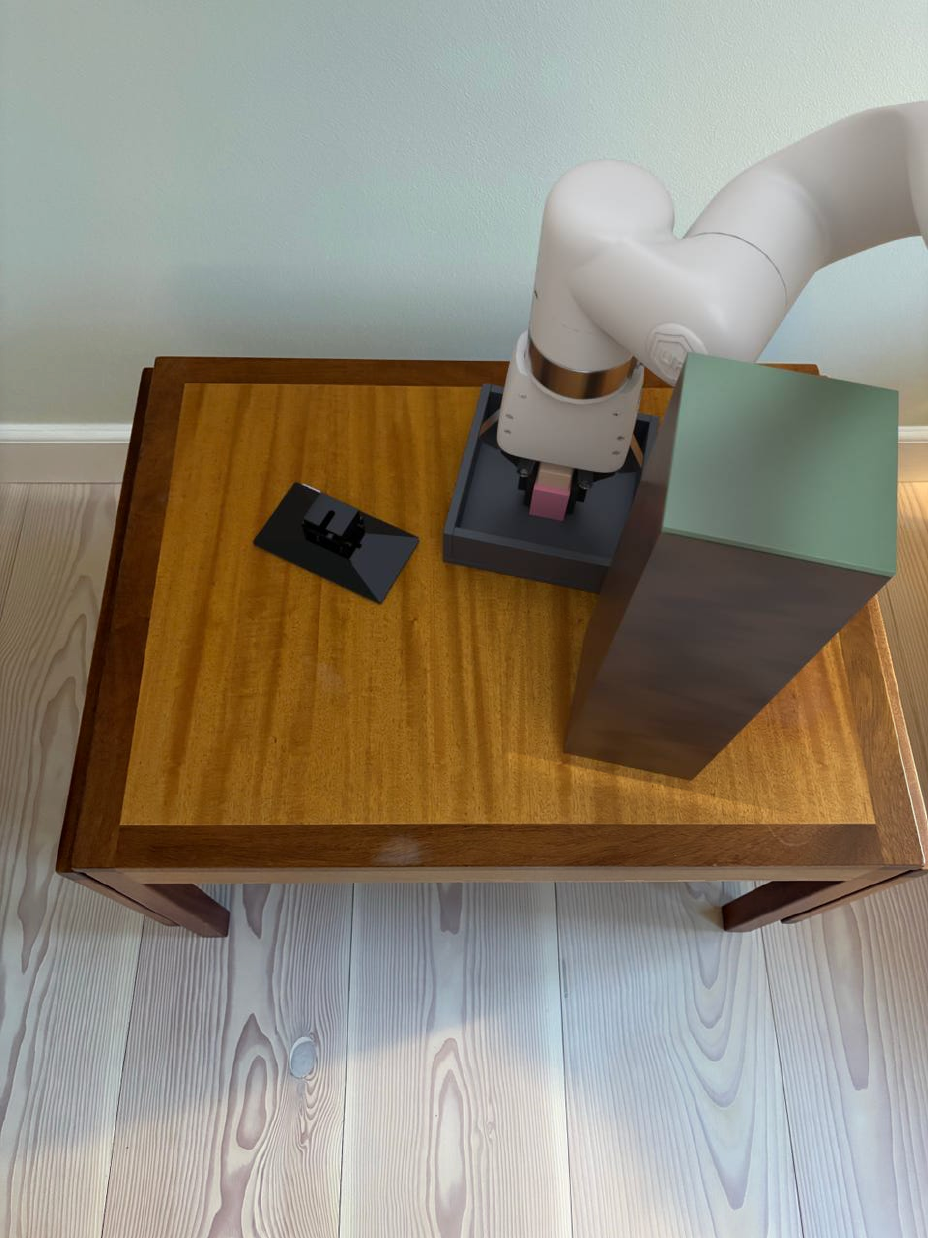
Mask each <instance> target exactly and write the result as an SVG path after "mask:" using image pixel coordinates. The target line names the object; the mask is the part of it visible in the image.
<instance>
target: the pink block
mask: <svg viewBox="0 0 928 1238" xmlns="http://www.w3.org/2000/svg"><path fill="white" fill-rule="evenodd" d="M573 473H574V468H573V467H567V466H562V465H557V464H552V463H547V462H542V461H540V464H539V468H538V473H537V477H536V482H535V484H534V489H533V494H532V500H531V506H530V512H529V514H530V515H535V516H540V517H545V518H550V519H555V520H560V521H563V520H564V516H565V512H566V508H567V504H568V500H569V495H570V488H571V483H572V478H573Z"/></svg>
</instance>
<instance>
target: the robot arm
mask: <svg viewBox="0 0 928 1238" xmlns="http://www.w3.org/2000/svg"><path fill="white" fill-rule="evenodd" d="M543 207H544V208H543V213H542V218H541V226H540V233H539V234H540V235H539V242H538V252H537V257H536V265H535V274H534V282H533V290H532V296H531V297H532V298H531V305H530V313H529V321H528V328H527V329H525V330H524V331H523V332H522V333H521V334H520V336H519V337H518V339H517V342H516V344H515V346H514V348H513V351H512V355H511V357H510V361H509V363H508V364H509V365H508V368H507V372H506V378H505V382H504V386H503V387H504V392H503V397H502V403H501V408H500V409H499V410H498V411H496V412H495V413H494V414H493V415H492V416H491V417H490V418H489V419H488V420H487V421H485V422H484V423H483V424H482V427H481V430H480V434H479V440H480V441H482V442H484V443H485V444H487V445H489V446H491V447H493V448H495V449H499V450H501V454H502V455H503V456H504V457H506V458H507V459H508V460H509V461H510V462H511V463H513V464H514V465H515V466H516V467H517V470H516V473H517V474H518V475H519V476H520V477H519V484H518V490H523V491H525V496H524V502H523V505H526V506H529V505H531V500H532V494H533V489H534V484H535V482H536V477H537V473H538V468H539V464H540V461H542V462H547V463H552V464H557V465H562V466H567V467H573V468H574V473H573V478H572V483H571V488H570V495H569V500H568V504H567V508H566V512H567V514H571V515H573V512H574V508H575V504H576V501H578V502H583V503H584V500H585V497H586V493H587V489H590V488H592V486H593V482H596V481H599V480H603V479H606V478H609V477H612V476H614V475H615V473H618V472H619V474H622V473H631V472H639V471H641V469H642V463H643V454H642V452H641V449H640V447H639V445H638V443H637V441H636V439H635V437H634V434H633V430H634V427H635V422H636V418H637V413H639V409H640V404H641V400H642V399H641V398H642V393H643V388H644V387H643V386H644V379H645V378H644V377H645V368H646V369H648V370H649V371H650V372H651V373H652V374H654V375H655V376H656V377H658V378H659V379H660V380H662V381H663V382H665V383H666V384H668V385H669V386H671V387H673V388H675V385H676V382H677V380H678V377H679V374H680V371H681V369H682V366H683V363H684V360H685V358H686V355H687V353H688V352H694V353H699V354H705V355H710V356H715V357H721V358H726V359H731V360H737V361H742V362H747V363H753V364H757V361H758V359H759V358H760V357H761V355H762V353H763V352H764V351H765V349H766V348H767V346H768V345H769V343H770V341H771V340H772V338H773V337H774V336H775V334H776V332H777V331H778V330H779V328H780V326H781V324H782V323H783V321H784V320H785V319H786V317H787V316H788V313H789V312H790V310H791V309H792V307H793V306H794V305H795V303H796V302H797V300H798V298H799V297H800V296H801V294H802V293H803V291H804V289H805V288H806V287H807V285H808V283H809V282H810V281H811V279H812V278H813V276H814V275H815V273H817V272H818V271H820V270H822V269H824V268H826V267H828V266H830V265H832V264H835V263H837V262H839V261H841V260H844V259H846V258H849V257H852V256H855V255H857V254H859V253H862V252H865V251H867V250H870V249H873V248H876V247H878V246H881V245H885V244H888V243H891V242H895V241H899V240H902V239H903V240H904V239H908V238H914V237H922V240H923V243H924V245H925V247H926V249H927V250H928V100H919V101H911V102H904V103H899V104H898V103H897V104H887V105H883V106H877V107H873V108H872V107H871V108H868V109H865V110H862V111H858V112H855V113H853V114H850V115H848V116H845V117H842V118H840V119H838V120H836V121H834V122H832V123H829V124H827V125H826V126H824V127H822V128H819V129H818V130H815V131H814V132H812V133H810V134H808V135H806V136H804V137H802V138H800V139H799V140H796V141H795V142H793V143H791V144H788V145H787V146H784V147H782V148H781V149H779V150H777V151H775V152H773V153H772V154H770V155H768V156H766V157H763V159H761V160H759V161H757V162H755V163H754V164H752V165H751V166H750V165H749V167H747V168H746V169H744V170H743V171H742V172H740V173H739V174H737V175H736V176H735V177H733V178H732V179H730V180H729V182H727V183H726V184H725V185H724V186H723V187H722V188H721V189H720V190H719V191H718V192H717V193H716V194H715V195H714V197H712V199H711V200H710V201H709V203H708V204H707V205H706V206H705V207H704V209H703V210H702V211H701V212H700V213H699V215H698V216H697V218H696V219H695V220H694V222H693V223H692V224H691V225H690V227H689V228H688V230H687V231H686V232H685V233H684V235H683V236H682V238H678V237H676V235H674V229H675V228H674V227H675V222H676V221H675V219H676V218H675V217H676V214H675V206H674V201H673V199H672V197H671V194H670V192H669V190H668V188H667V187H666V185H665V184H664V182H663V181H661V180H660V178H659V177H658V176H657V175H655V174H654V173H653V172H651V171H650V170H648V169H647V168H644V167H643V166H641V165H639V164H636V163H634V162H630V161H627V160H623V159H622V160H621V159H616V158H599V159H593V160H587V161H584V162H581V163H578V164H576V165H574V166H572V167H571V168H570V169H568V170H566V171H565V172H564V173H563V174H561V175H560V177H559V178H557V180H556V181H555V182H554V184H553V185H552V187H551V189H550V190H549V192H548V194H547V197H546V200H545V203H544V206H543Z"/></svg>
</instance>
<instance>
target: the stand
mask: <svg viewBox="0 0 928 1238" xmlns="http://www.w3.org/2000/svg"><path fill="white" fill-rule="evenodd" d="M899 398H900V390H898V389H891V388H887V387H881V386H876V385H871V384H865V383H860V382H856V381H855V382H854V381H849V380H843V379H839V378H833V377H827V376H822V375H817V374H813V373H811V374H810V373H805V372H801V371H796V370H795V371H794V370H791V369H785V368H780V367H774V366H768V365H762V364H757V363H755V364H753V363H747V362H742V361H737V360H731V359H726V358H721V357H715V356H710V355H705V354H699V353H694V352H688V353H687V355H686V358H685V360H684V363H683V366H682V369H681V371H680V374H679V377H678V380H677V382H676V385H675V387H673V390H672V393H671V396H670V398H669V402H668V405H667V407H666V410H665V413H664V415H663V418H662V421H661V424H660V425H659V426H660V427H659V428H658V434H657V437H656V440H655V443H654V445H653V448H652V451H651V454H650V456H649V459H648V462H647V465H646V467H645V470H644V473H643V476H642V478H641V481H640V484H639V487H638V489H637V492H636V495H635V498H634V500H633V503H632V506H631V509H630V511H629V514H628V517H627V520H626V522H625V525H624V528H623V531H622V533H621V536H620V539H619V542H618V544H617V547H616V550H615V553H614V555H613V558H612V561H611V564H610V566H609V569H608V572H607V575H606V577H605V580H604V583H603V586H602V588H601V591H600V594H598V596H597V600H596V603H595V604H594V608H593V610H592V613H591V616H590V618H589V622H588V624H587V627H586V629H585V632H584V636H583V638H582V645H581V649H580V655H579V661H578V665H577V672H576V678H575V684H574V690H573V695H572V699H571V705H570V712H569V718H568V723H567V729H566V734H565V740H564V746H563V751H562V752H563V754H567V755H572V756H576V757H581V758H585V759H591V760H594V761H599V762H603V763H608V764H613V765H617V766H622V767H626V768H630V769H637V770H641V771H645V772H650V773H653V774H659V775H663V776H669V777H672V778H677V779H682V780H686V781H691V782H692V781H694V779H695V778H696V777H697V776H698V775H699V774H700V773H702V771H703V770H704V769H705V768H706V767H707V766H708V765H709V764H710V763H711V762H712V761H713V760H714V759H715V758H716V757H717V756H718V755H719V754H720V753H721V752H722V751H723V750H724V749H725V748H727V746H728V745H729V744H730V743H731V742H732V741H733V740H734V739H736V737H737V736H738V735H739V734H740V733H741V732H742V731H743V730H744V729H745V728H746V726H748V725H749V723H751V722H752V720H754V718H755V717H756V716H757V715H758V714H760V713H761V711H762V710H763V709H764V708H765V707H766V706H768V704H770V702H771V701H772V700H773V699H774V698H775V697H776V696H777V695H778V694H779V693H780V692H781V691H782V690H784V688H785V687H786V686H787V685H788V684H789V683H790V682H791V681H792V680H793V679H794V678H795V677H796V676H797V675H798V674H799V673H800V672H801V671H802V670H803V669H804V668H805V667H806V666H807V665H808V664H809V663H810V662H811V661H812V660H813V658H815V657H816V656H817V655H818V654H819V652H820V651H822V649H824V648H825V646H827V644H829V643H830V641H832V639H834V637H836V635H838V633H839V632H840V631H841V630H842V629H843V628H844V627H846V625H847V624H848V623H850V621H852V619H853V618H854V617H855V616H856V615H857V614H858V613H859V612H860V611H861V610H862V609H863V608H864V607H865V606H866V605H867V604H868V603H869V602H870V601H871V600H872V599H873V598H874V597H875V596H876V595H877V594H878V593H879V592H880V591H881V590H882V589H883V588H884V587H885V586H886V584H888V582H889V581H891V579H892V578H894V576H896V574H897V572H898V570H897V569H898V568H897V566H898V562H897V560H898V493H899V492H898V490H899V489H898V488H899V487H898V483H899V471H898V470H899V469H898V468H899V414H900V413H899V408H900V407H899V404H900V403H899V402H900V401H899V400H900V399H899Z"/></svg>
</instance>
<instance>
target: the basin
mask: <svg viewBox="0 0 928 1238" xmlns="http://www.w3.org/2000/svg"><path fill="white" fill-rule="evenodd" d="M504 387H505V386H502V385H497V384H491V383H485V382H483V383H482V385H481V389H480V392H479V396H478V400H477V404H476V406H475V411H474V413H473V418H472V423H471V425H470V430H469V434H468V437H467V440H466V444H465V448H464V452H463V455H462V458H461V459H462V460H461V463H460V467H459V471H458V475H457V478H456V482H455V486H454V490H453V493H452V497H451V500H450V505H449V509H448V512H447V516H446V520H445V523H444V527H443V532H442V562H443V563H448V564H452V565H457V566H461V567H467V568H472V569H475V570H476V569H477V570H482V571H486V572H491V573H495V574H496V573H497V574H501V575H505V576H511V577H515V578H520V579H526V580H530V581H533V582H534V581H535V582H540V583H545V584H550V585H554V586H560V587H564V588H569V589H573V590H579V591H583V592H588V593H593V594H598V595H599V594H600V591H601V588H602V586H603V583H604V580H605V577H606V575H607V572H608V569H609V566H610V564H611V561H612V558H613V555H614V553H615V550H616V547H617V544H618V542H619V539H620V536H621V533H622V531H623V528H624V525H625V522H626V520H627V517H628V514H629V511H630V509H631V506H632V503H633V500H634V498H635V495H636V492H637V489H638V487H639V484H640V481H641V478H642V476H643V473H644V470H645V467H646V465H647V462H648V459H649V456H650V454H651V451H652V448H653V445H654V443H655V440H656V437H657V434H658V432H659V428H660V427H659V426H660V420H661V416H658V415H652V414H647V413H641V412H638V413H637V418H636V422H635V427H634V430H633V434H634V437H635V439H636V441H637V443H638V445H639V447H640V449H641V452H642V454H643V463H642V469H641V471H639V472H631V473H622V474H619V472H618V473H615V475H614V476H612V477H609V478H606V479H603V480H599V481H596V482H593V486H592V488H590V489H587V493H586V497H585V500H584V503H583V502H578V501H576V504H575V508H574V512H573V515H571V514H567V512H565V516H564V520H563V521H560V520H555V519H550V518H545V517H540V516H535V515H530V514H529V512H530V506H531V505H529V506H526V505H523V502H524V496H525V491H523V490H518V484H519V477H520V476H519V475H518V474H517V473H516V470H517V467H516V466H515V465H514V464H513V463H511V462H510V461H509V460H508V459H507V458H506V457H504V456H503V455H502V454H501V450H499V449H495V448H493V447H491V446H489V445H487V444H485V443H484V442H482V441H480V440H479V434H480V430H481V427H482V424H483V423H484V422H485V421H487V420H488V419H489V418H490V417H491V416H492V415H493V414H494V413H495V412H496V411H498V410H499V409H500V408H501V403H502V397H503V392H504Z"/></svg>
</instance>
